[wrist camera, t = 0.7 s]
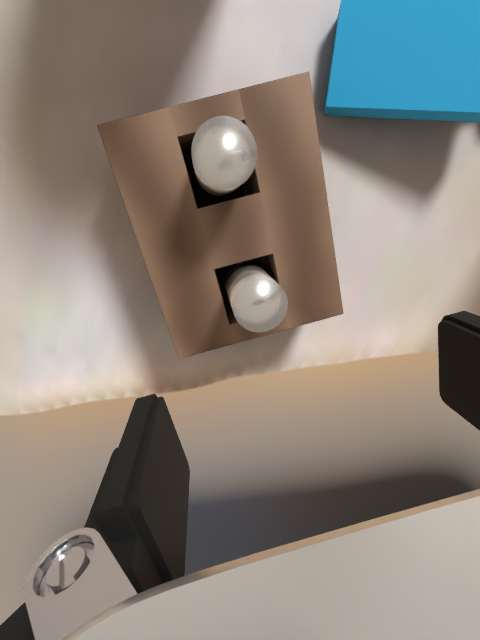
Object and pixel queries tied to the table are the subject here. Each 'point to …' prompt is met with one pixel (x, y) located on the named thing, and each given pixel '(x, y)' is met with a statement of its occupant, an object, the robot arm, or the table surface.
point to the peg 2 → (255, 297)
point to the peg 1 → (223, 154)
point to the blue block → (406, 60)
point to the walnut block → (229, 211)
